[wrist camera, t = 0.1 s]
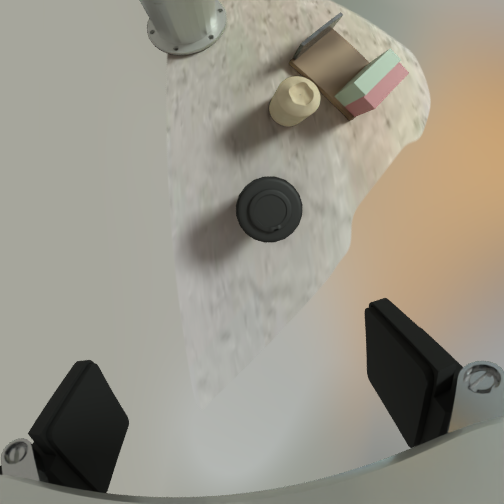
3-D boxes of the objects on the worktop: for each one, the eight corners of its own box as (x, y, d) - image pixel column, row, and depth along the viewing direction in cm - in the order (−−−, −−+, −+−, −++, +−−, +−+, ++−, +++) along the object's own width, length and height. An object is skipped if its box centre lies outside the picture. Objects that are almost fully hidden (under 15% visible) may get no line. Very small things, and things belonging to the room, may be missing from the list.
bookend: (292, 58, 38) (300, 43, 32) (328, 28, 37) (340, 12, 31) (295, 60, 38) (303, 45, 32) (331, 30, 37) (343, 14, 31)
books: (334, 96, 40) (353, 82, 32) (367, 64, 38) (390, 48, 31) (354, 116, 41) (377, 107, 33) (386, 84, 39) (411, 71, 32)
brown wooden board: (288, 63, 39) (290, 60, 38) (328, 30, 38) (330, 26, 37) (349, 120, 42) (353, 119, 41) (384, 84, 41) (388, 82, 39)
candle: (264, 120, 42) (272, 105, 32) (274, 87, 40) (285, 66, 31) (299, 131, 42) (317, 121, 33) (309, 99, 41) (328, 82, 32)
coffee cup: (262, 240, 46) (270, 258, 37) (224, 203, 45) (221, 211, 35) (300, 202, 45) (318, 210, 36) (262, 164, 43) (270, 161, 34)
